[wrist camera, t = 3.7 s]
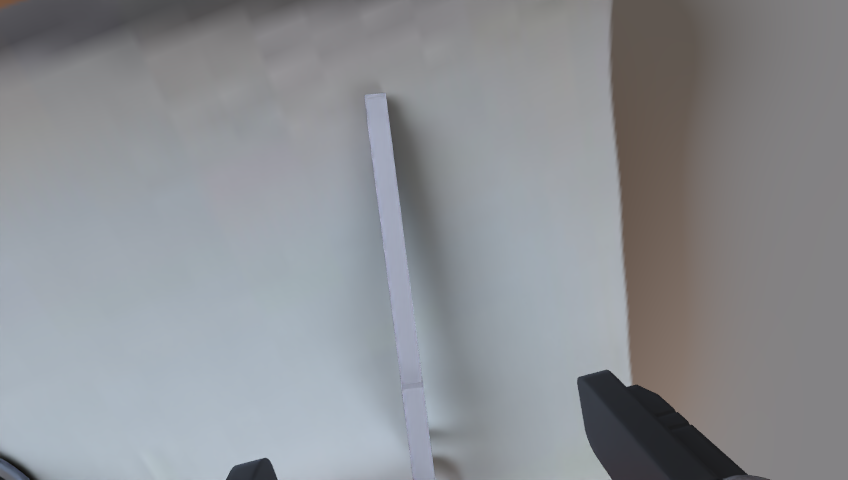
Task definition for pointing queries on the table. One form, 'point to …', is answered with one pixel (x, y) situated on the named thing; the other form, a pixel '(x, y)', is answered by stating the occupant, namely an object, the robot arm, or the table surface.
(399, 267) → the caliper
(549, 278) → the table surface
